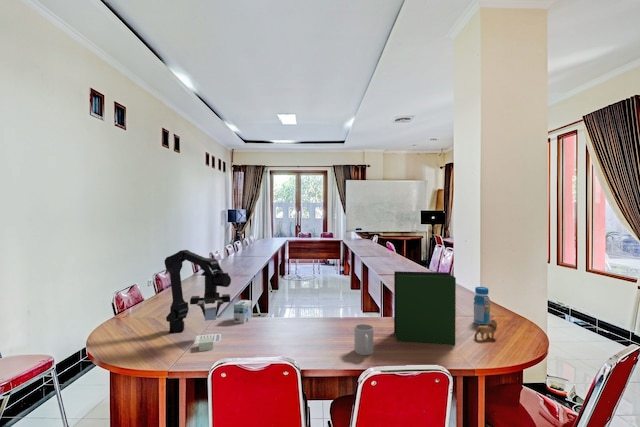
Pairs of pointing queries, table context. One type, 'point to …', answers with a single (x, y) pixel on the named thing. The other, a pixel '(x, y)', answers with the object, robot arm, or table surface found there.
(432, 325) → the binder
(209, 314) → the slate-blue cube
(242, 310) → the light bulb box
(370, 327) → the mug
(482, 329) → the lion figurine
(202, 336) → the letter
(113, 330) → the table surface
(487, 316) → the beverage bottle
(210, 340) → the sage block
